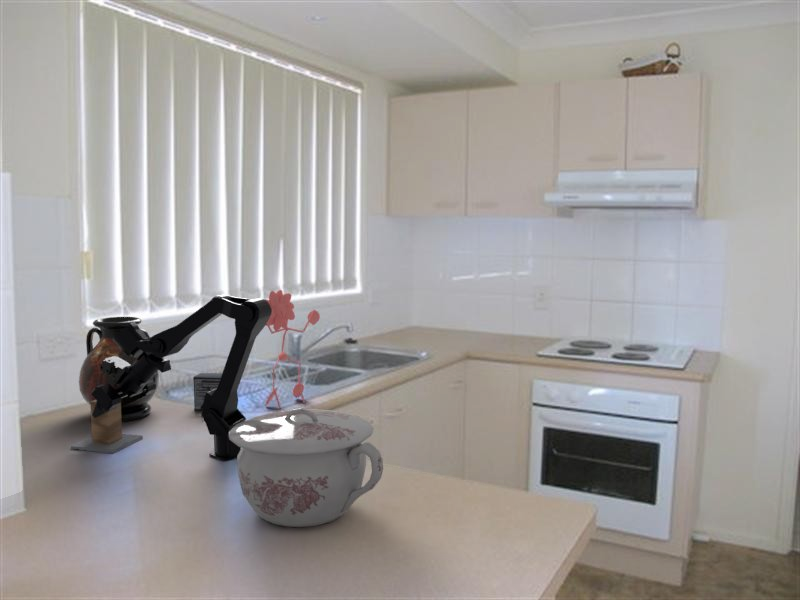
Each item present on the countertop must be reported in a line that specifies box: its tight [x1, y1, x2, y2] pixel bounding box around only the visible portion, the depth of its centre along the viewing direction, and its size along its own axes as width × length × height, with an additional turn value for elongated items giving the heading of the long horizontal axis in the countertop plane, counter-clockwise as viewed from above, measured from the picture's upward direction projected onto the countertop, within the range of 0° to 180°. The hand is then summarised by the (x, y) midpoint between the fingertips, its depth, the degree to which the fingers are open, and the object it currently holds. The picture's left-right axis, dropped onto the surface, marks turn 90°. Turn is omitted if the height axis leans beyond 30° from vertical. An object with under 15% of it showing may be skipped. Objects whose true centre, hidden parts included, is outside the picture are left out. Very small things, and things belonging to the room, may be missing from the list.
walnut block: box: [89, 400, 123, 444], centre depth 178 cm, size 5×5×10 cm
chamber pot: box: [229, 407, 384, 528], centre depth 136 cm, size 28×28×21 cm
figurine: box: [263, 289, 321, 409], centre depth 218 cm, size 15×26×35 cm, turn 135°
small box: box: [192, 372, 223, 412], centre depth 211 cm, size 11×6×10 cm, turn 84°
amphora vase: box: [78, 316, 160, 423], centre depth 202 cm, size 22×22×28 cm
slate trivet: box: [70, 433, 144, 454], centre depth 178 cm, size 12×12×1 cm
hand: (105, 411), depth 177 cm, fingers open, 9 cm apart
